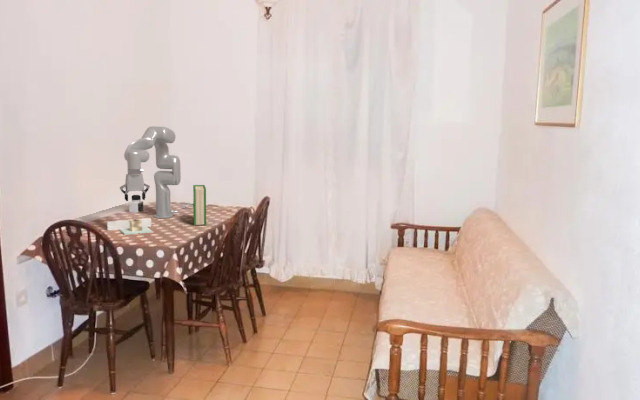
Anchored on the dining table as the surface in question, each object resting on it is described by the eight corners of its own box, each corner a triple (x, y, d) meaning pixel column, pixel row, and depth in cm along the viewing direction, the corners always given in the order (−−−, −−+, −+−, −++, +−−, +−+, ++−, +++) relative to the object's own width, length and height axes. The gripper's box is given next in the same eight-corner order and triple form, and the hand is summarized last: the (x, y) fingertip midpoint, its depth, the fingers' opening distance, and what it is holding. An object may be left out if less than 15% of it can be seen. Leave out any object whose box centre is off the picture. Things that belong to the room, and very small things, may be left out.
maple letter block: (139, 228, 329) (139, 218, 328) (142, 230, 324) (142, 220, 323) (129, 229, 325) (129, 219, 324) (132, 231, 320) (131, 221, 320)
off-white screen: (150, 225, 341) (150, 218, 340) (151, 226, 339) (151, 218, 339) (107, 229, 327) (107, 221, 326) (108, 230, 325) (107, 222, 325)
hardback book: (206, 225, 347) (205, 188, 343) (194, 225, 345) (194, 188, 341) (204, 220, 364) (204, 185, 360) (193, 220, 362) (193, 185, 358)
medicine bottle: (138, 212, 381) (137, 196, 379) (129, 212, 383) (128, 195, 381) (143, 211, 388) (143, 194, 386) (134, 210, 390) (134, 194, 388)
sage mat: (146, 228, 334) (146, 226, 334) (152, 232, 324) (152, 230, 324) (119, 230, 325) (119, 229, 325) (124, 234, 315) (124, 233, 315)
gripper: (147, 170, 326) (148, 198, 330) (117, 171, 317) (118, 200, 320) (150, 172, 320) (151, 200, 323) (120, 173, 311) (121, 202, 314)
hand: (135, 200), depth 322 cm, fingers open, 9 cm apart
